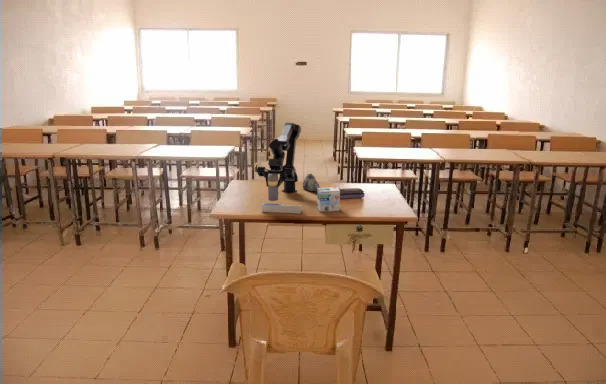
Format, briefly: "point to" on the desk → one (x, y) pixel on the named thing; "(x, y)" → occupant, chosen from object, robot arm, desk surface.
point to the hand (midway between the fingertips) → (272, 186)
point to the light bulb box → (328, 199)
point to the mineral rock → (310, 183)
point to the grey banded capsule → (272, 187)
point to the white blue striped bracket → (281, 208)
